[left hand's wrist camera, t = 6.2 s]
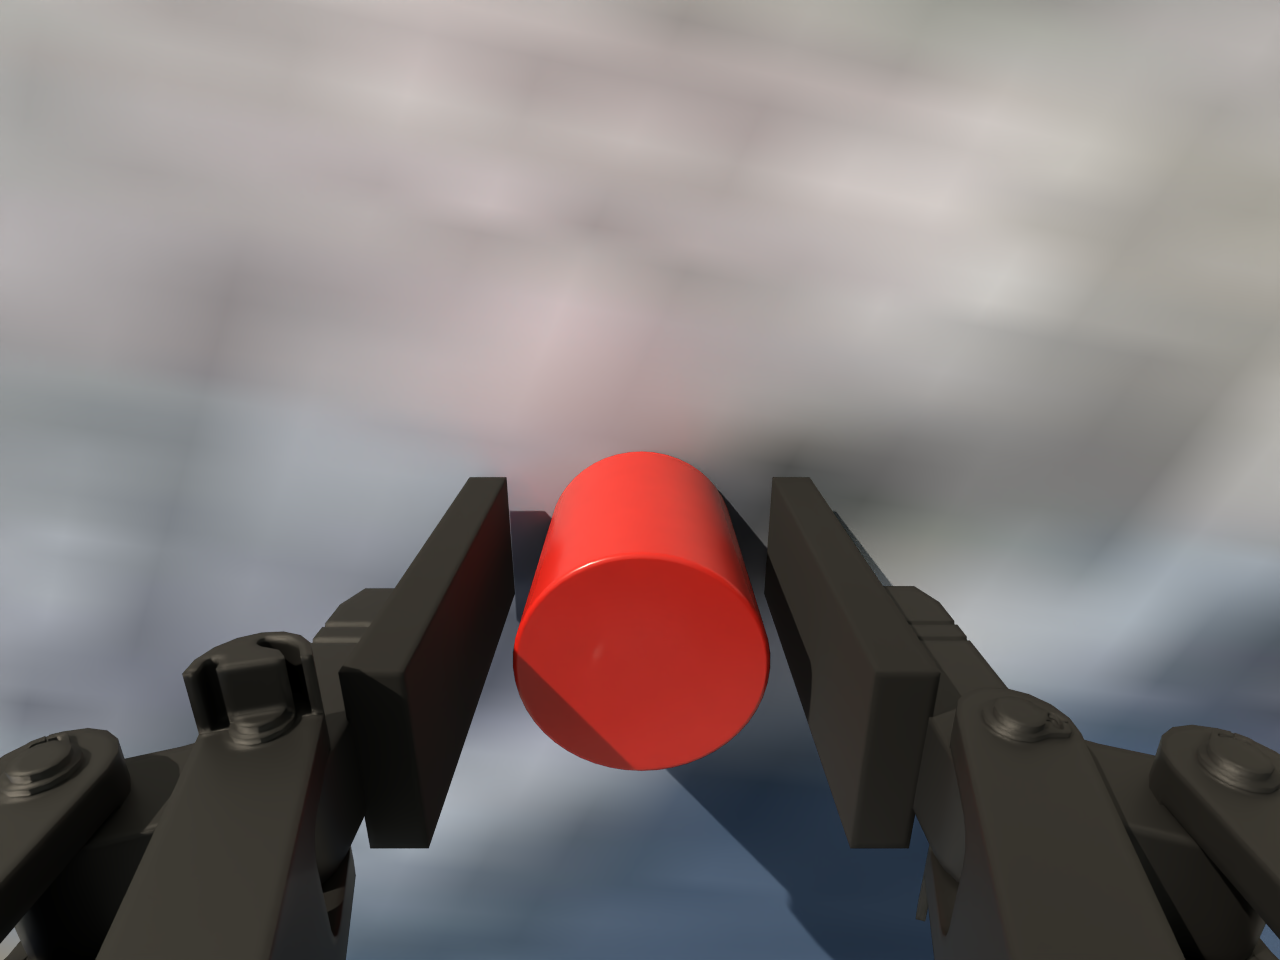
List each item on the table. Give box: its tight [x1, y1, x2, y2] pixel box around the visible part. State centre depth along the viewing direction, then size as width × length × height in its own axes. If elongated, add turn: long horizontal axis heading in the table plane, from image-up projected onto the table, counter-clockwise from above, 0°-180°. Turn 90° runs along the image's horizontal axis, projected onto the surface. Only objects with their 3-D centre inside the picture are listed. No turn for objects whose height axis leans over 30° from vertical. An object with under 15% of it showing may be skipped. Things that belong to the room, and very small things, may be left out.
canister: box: [513, 452, 770, 771], centre depth 12 cm, size 4×4×5 cm
